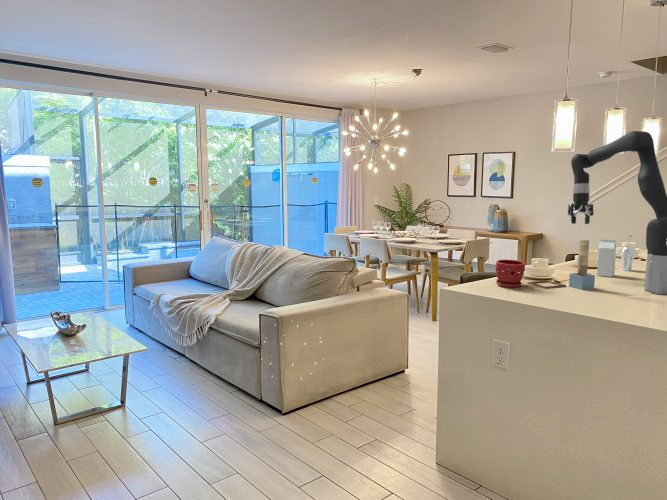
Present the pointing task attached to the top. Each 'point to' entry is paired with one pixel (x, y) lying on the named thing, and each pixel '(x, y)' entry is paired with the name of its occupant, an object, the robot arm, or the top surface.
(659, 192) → the robot arm
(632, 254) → the cup with straw
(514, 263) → the plant pot
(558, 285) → the walnut tray
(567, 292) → the top surface
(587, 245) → the oak dowel
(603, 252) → the milk carton
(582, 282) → the blue cube
